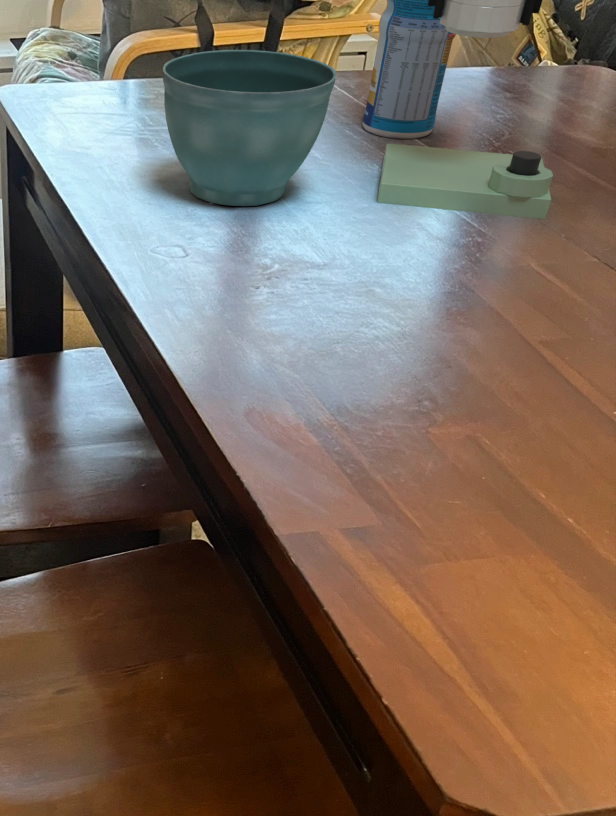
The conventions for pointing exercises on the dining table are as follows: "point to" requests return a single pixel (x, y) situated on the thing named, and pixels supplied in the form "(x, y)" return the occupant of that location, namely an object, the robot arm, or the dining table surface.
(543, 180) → the pale green flat block
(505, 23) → the bowl
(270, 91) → the flower pot
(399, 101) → the beverage bottle
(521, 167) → the button
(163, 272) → the dining table surface
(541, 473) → the dining table surface
